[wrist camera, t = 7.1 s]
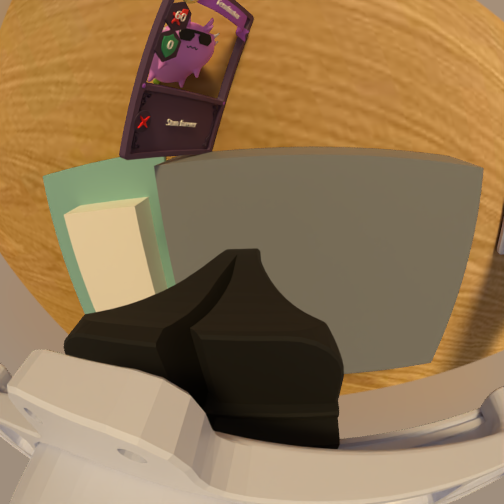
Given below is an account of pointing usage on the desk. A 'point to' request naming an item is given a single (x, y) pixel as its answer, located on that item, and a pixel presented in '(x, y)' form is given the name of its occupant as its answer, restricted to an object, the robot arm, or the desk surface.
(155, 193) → the mat
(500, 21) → the desk surface
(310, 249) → the plate
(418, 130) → the desk surface
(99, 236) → the beige rectangular block
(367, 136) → the desk surface
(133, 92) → the game card
